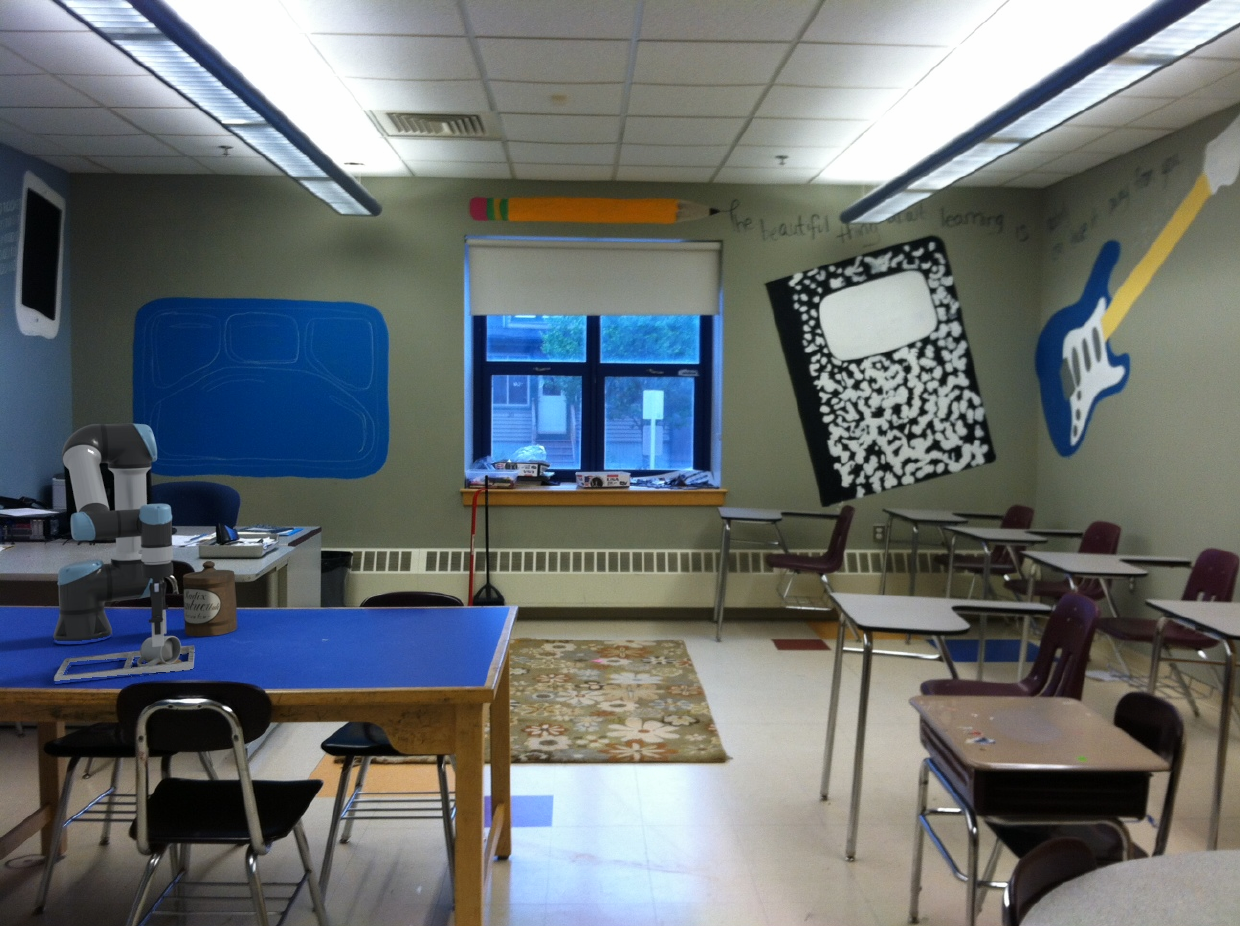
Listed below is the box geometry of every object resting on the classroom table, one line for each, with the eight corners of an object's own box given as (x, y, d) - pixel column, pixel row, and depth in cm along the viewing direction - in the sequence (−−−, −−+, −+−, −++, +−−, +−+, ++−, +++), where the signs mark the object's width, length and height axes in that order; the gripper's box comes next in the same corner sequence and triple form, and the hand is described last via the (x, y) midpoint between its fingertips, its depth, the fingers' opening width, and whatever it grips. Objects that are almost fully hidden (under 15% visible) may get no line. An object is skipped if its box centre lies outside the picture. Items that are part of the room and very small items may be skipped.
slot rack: (65, 665, 238) (65, 658, 238) (194, 652, 251) (194, 645, 251) (54, 685, 221) (54, 677, 220) (193, 669, 234) (193, 661, 234)
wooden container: (173, 635, 271) (171, 564, 270) (208, 624, 285) (206, 556, 284) (214, 638, 267) (212, 566, 266) (247, 627, 281) (245, 558, 280)
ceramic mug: (158, 658, 244) (157, 631, 244) (182, 659, 242) (181, 633, 241) (129, 668, 234) (127, 641, 234) (153, 670, 232) (152, 643, 232)
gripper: (144, 555, 247) (146, 630, 249) (137, 570, 225) (140, 653, 226) (174, 553, 250) (176, 627, 252) (171, 568, 228) (173, 649, 229)
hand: (159, 639), depth 239 cm, fingers open, 13 cm apart
